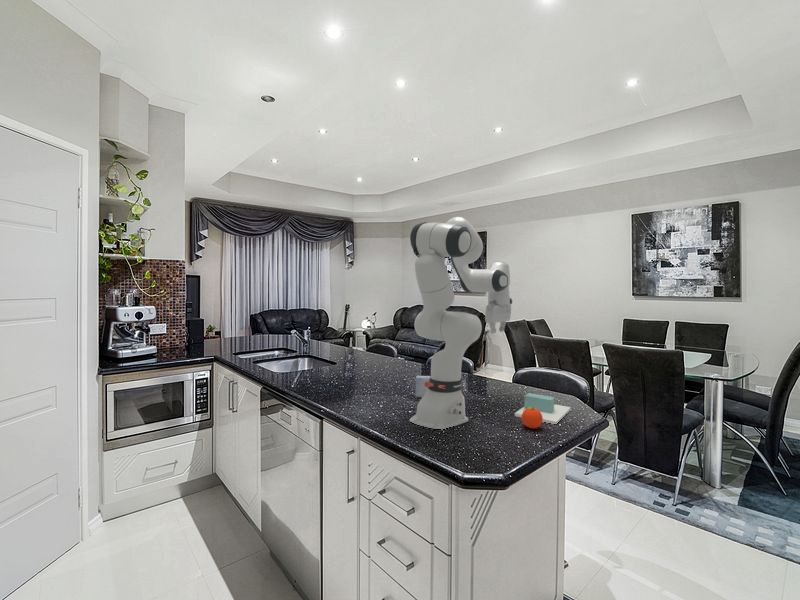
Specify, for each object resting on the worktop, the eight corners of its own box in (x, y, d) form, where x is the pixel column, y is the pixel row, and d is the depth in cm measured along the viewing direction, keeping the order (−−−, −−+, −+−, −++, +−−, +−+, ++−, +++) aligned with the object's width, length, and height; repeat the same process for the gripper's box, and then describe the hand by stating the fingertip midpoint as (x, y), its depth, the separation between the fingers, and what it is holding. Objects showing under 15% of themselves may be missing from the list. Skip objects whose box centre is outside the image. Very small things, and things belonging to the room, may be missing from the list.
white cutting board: (556, 425, 139) (556, 421, 139) (514, 416, 148) (514, 413, 148) (570, 410, 157) (570, 407, 157) (532, 403, 166) (532, 400, 166)
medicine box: (433, 395, 174) (434, 376, 174) (433, 398, 170) (434, 378, 169) (415, 394, 175) (416, 375, 174) (415, 397, 170) (415, 377, 170)
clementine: (515, 424, 139) (515, 404, 138) (530, 422, 141) (531, 402, 141) (530, 432, 131) (531, 411, 131) (546, 430, 134) (547, 409, 134)
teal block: (524, 408, 154) (550, 413, 148) (524, 395, 154) (551, 400, 148) (528, 405, 158) (554, 410, 153) (528, 392, 158) (554, 397, 152)
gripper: (496, 300, 158) (495, 335, 159) (513, 300, 175) (512, 331, 175) (481, 300, 162) (480, 333, 162) (500, 299, 179) (499, 330, 179)
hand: (497, 332), depth 169 cm, fingers open, 8 cm apart
